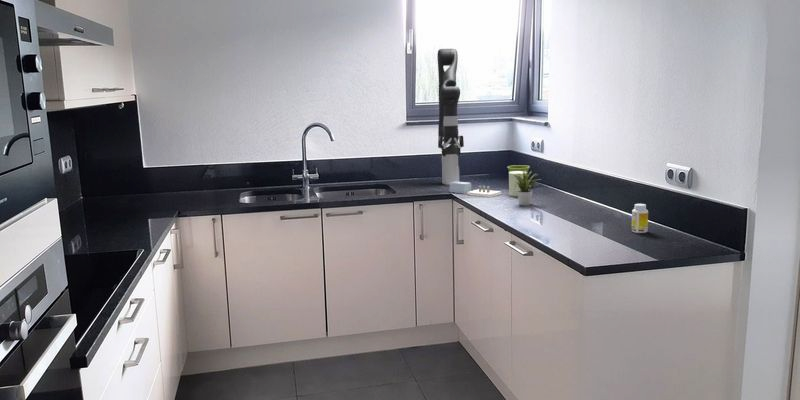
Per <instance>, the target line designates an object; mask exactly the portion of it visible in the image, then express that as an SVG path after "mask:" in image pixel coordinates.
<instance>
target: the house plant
mask: <svg viewBox="0 0 800 400" xmlns="http://www.w3.org/2000/svg"><path fill="white" fill-rule="evenodd" d="M532 171H533V170H531V171H530V172H529V173H527V172H526V173H525V171H523V178H522V177H520V176H521V175H520V174H519V173H518V174H519V175H520V176H519V175H518V174H517V175H518V177H519V178H518V177H517V176H516V175H514V177H515V178H516V179H517V180H519V181H518V182H519V183H520V184H519V183H518V182H513V183H516V184H518V186H519V188H520V189H521V190H518V191H517V194H518V197H517V199H518V205H520V206H530V205H531V204H532V197H533V190H530V189H531V188H532V187H533V186H534V185H536V186H539V184H537V181H542V180H543V179H541V178H538V179H534V178H535V177H537V176H538V173H537V172H536V173H534V174H533V175H532V176H531V177H530V178H529V176H530V174H531V173H532ZM521 178H522V179H521ZM522 181H523V182H522ZM526 181H527V183H526ZM516 184H515V185H514V186H515V187H517V186H516ZM515 187H514V188H515Z"/></svg>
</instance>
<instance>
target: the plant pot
mask: <svg viewBox="0 0 800 400" xmlns="http://www.w3.org/2000/svg"><path fill="white" fill-rule="evenodd" d="M506 168H507V169H508V173H509V172H512V171H525V172H527V174H529V173H528V172H529V169H530V165H524V164H523V165H522V164H521V165H520V164H519V165H516V164H515V165H508V166H507V167H506Z"/></svg>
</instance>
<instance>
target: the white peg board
mask: <svg viewBox="0 0 800 400" xmlns="http://www.w3.org/2000/svg"><path fill="white" fill-rule="evenodd" d="M466 195H467V196H473V197H483V198H484V197H485V198H492V197H496V196H500V195H502V191H501V190H500V191H499V190H490V186H489V185H487V186H485V185H478V189H473V190H471V191H469V192H467V193H466Z"/></svg>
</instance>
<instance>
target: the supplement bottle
mask: <svg viewBox="0 0 800 400" xmlns="http://www.w3.org/2000/svg"><path fill="white" fill-rule="evenodd" d="M648 226H649V210H648V209H647V204H645V203H635V204H634V207H633V209H632V210H631V231H632V232H633V233H635V234H645V233H647V232H648V231H649V229H648V228H649V227H648Z"/></svg>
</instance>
